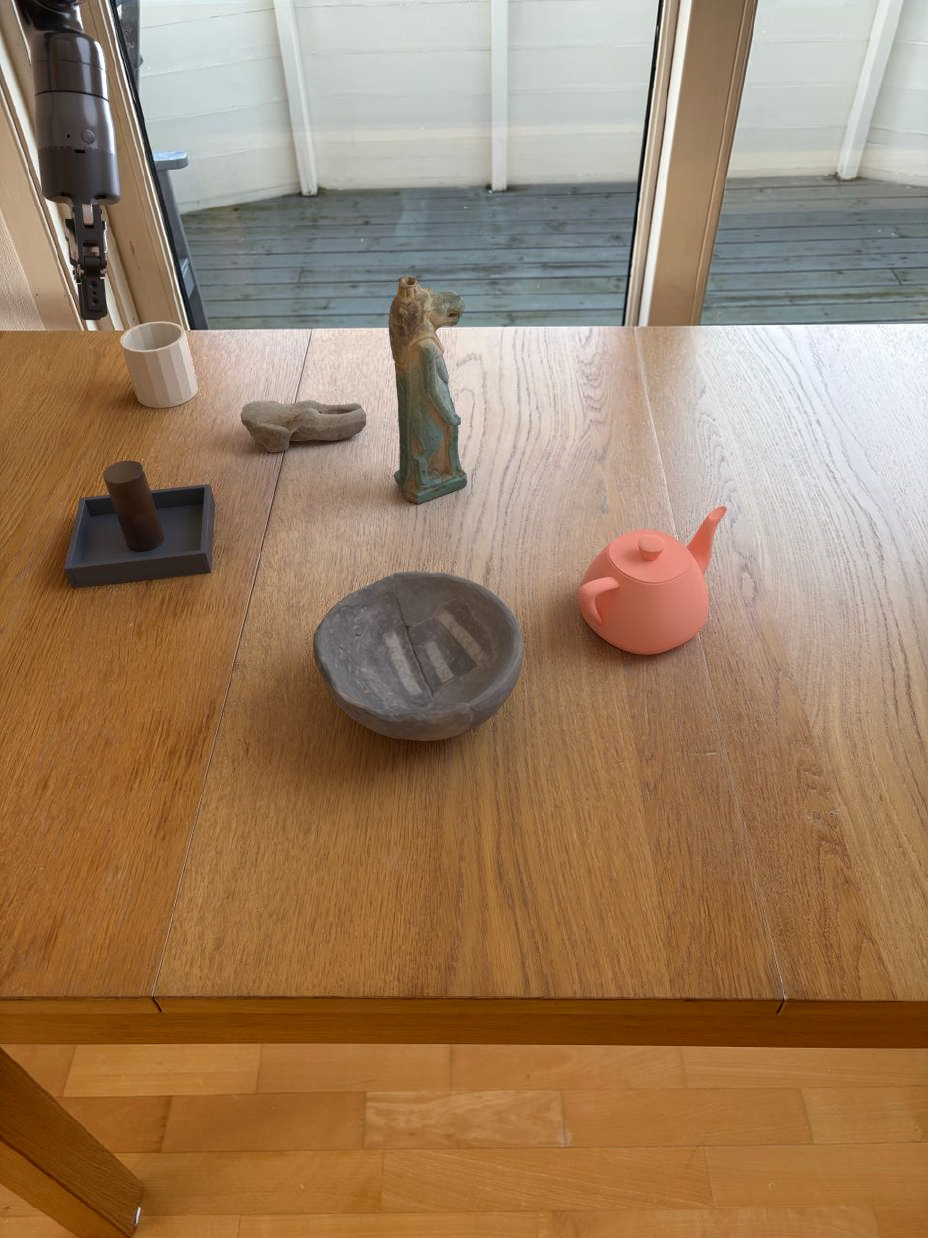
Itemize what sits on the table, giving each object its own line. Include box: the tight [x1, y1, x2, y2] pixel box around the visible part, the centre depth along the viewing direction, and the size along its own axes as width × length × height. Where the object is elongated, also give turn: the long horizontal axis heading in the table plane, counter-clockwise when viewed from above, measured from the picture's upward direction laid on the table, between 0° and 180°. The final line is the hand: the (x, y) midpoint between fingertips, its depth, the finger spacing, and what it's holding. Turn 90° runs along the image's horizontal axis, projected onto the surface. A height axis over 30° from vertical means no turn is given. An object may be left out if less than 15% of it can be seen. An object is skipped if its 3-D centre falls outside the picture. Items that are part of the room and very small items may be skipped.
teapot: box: [577, 505, 728, 656], centre depth 90 cm, size 12×18×10 cm
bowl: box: [312, 570, 524, 742], centre depth 83 cm, size 18×18×8 cm
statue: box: [388, 275, 468, 505], centre depth 101 cm, size 7×8×25 cm
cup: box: [119, 320, 199, 409], centre depth 123 cm, size 8×8×8 cm
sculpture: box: [240, 399, 367, 453], centre depth 116 cm, size 7×5×15 cm
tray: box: [63, 483, 216, 589], centre depth 102 cm, size 14×12×3 cm
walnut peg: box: [102, 459, 164, 552], centre depth 99 cm, size 4×4×9 cm
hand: (93, 318), depth 100 cm, fingers open, 8 cm apart
